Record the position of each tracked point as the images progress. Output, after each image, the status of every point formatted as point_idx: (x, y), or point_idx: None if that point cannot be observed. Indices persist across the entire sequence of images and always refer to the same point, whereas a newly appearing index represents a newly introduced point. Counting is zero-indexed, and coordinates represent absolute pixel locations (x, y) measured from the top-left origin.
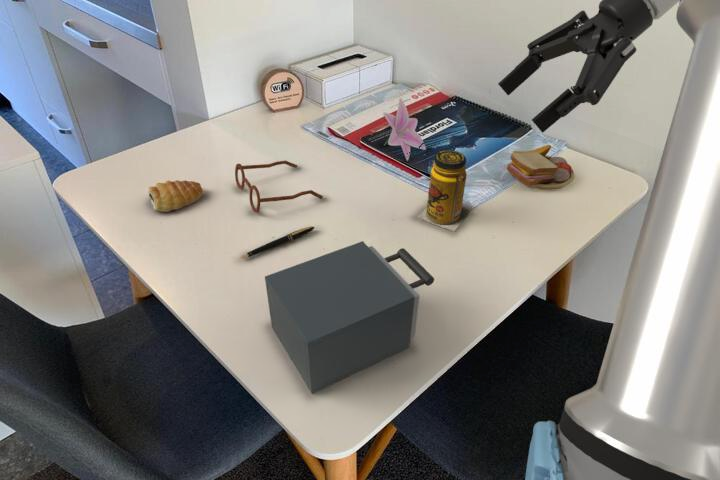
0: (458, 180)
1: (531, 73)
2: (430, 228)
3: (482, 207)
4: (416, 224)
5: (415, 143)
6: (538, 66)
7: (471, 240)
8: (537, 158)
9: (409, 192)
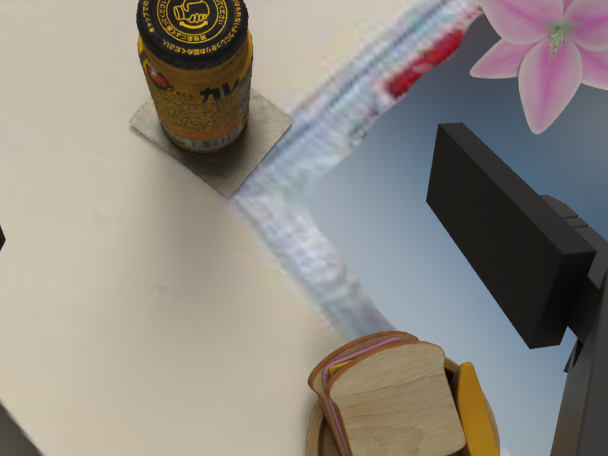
0: (142, 61)
1: (500, 297)
2: None
3: (236, 224)
4: None
5: (533, 91)
6: (532, 337)
7: (91, 159)
8: (416, 430)
9: (314, 52)
